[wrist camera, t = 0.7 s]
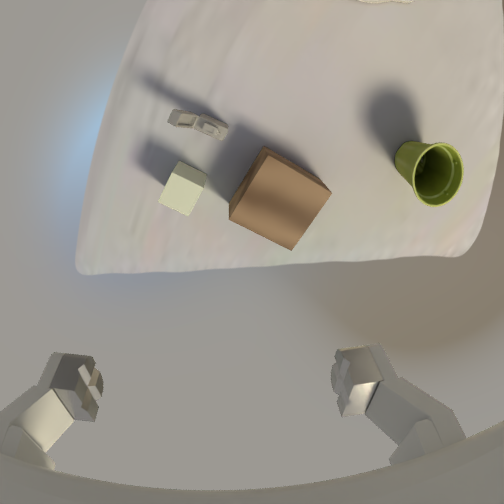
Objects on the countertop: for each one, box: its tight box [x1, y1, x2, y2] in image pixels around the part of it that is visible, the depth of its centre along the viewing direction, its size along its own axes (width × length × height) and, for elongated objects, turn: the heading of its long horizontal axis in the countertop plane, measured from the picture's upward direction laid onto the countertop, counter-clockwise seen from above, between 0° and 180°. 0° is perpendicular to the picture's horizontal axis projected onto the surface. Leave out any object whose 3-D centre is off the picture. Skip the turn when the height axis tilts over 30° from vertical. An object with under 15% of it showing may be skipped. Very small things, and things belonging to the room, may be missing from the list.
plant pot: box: [395, 141, 464, 207], centre depth 41 cm, size 9×9×9 cm
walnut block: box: [229, 146, 332, 251], centre depth 45 cm, size 10×10×6 cm
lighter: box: [168, 109, 228, 141], centre depth 38 cm, size 7×2×8 cm, turn 62°
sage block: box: [158, 161, 207, 216], centre depth 43 cm, size 4×4×6 cm
